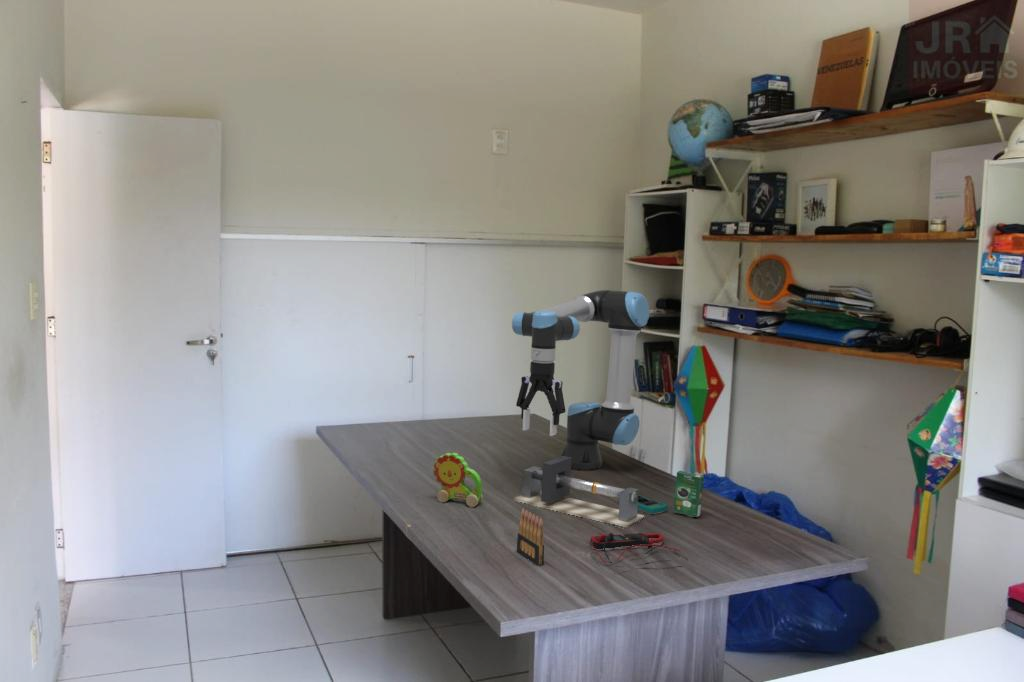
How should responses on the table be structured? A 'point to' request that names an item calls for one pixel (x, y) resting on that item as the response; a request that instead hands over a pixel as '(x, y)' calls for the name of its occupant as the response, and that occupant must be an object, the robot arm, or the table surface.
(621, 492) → the pipe
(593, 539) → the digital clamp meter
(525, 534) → the ammunition clip
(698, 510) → the coffee box
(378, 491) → the table surface
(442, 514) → the table surface
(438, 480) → the toy lion
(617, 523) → the board
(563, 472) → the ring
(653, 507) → the digital multimeter
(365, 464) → the table surface
